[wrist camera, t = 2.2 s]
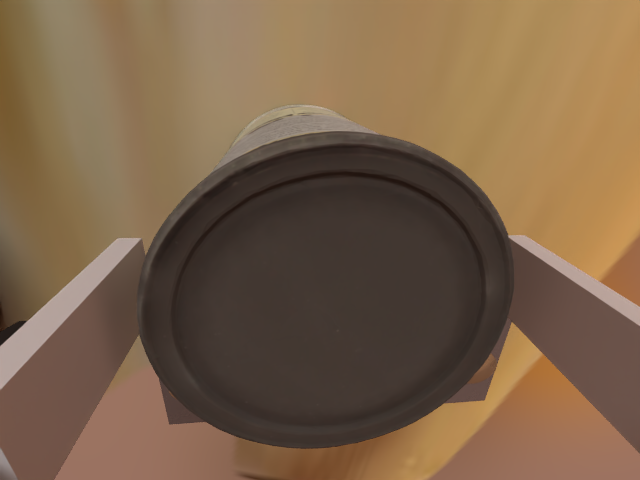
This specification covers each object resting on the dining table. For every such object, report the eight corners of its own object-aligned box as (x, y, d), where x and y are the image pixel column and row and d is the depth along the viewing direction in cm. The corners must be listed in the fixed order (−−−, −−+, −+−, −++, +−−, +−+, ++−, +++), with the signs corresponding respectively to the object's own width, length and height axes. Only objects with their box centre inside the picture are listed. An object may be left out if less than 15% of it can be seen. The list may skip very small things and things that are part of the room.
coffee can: (410, 164, 22) (591, 274, 9) (321, 279, 25) (366, 481, 12) (276, 62, 19) (274, 17, 6) (192, 209, 22) (70, 387, 9)
